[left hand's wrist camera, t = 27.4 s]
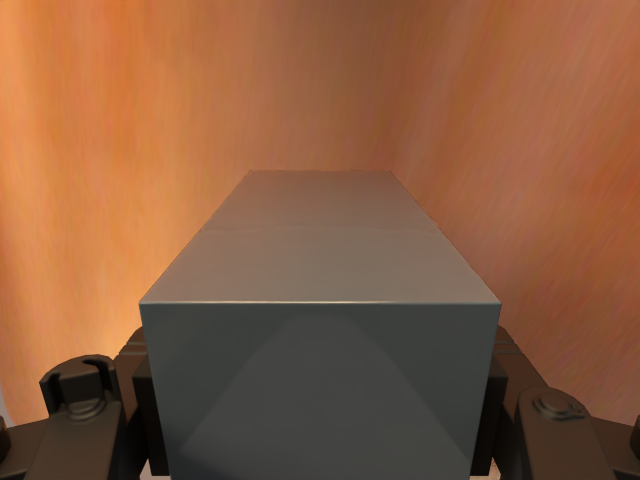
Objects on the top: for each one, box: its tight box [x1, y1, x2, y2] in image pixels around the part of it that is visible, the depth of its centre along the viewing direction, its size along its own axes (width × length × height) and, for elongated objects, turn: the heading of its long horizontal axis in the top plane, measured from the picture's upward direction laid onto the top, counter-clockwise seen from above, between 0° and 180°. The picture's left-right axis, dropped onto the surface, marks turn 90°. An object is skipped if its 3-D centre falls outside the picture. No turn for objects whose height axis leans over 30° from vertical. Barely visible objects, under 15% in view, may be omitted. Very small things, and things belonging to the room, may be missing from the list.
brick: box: [139, 170, 501, 480], centre depth 13 cm, size 6×7×11 cm
